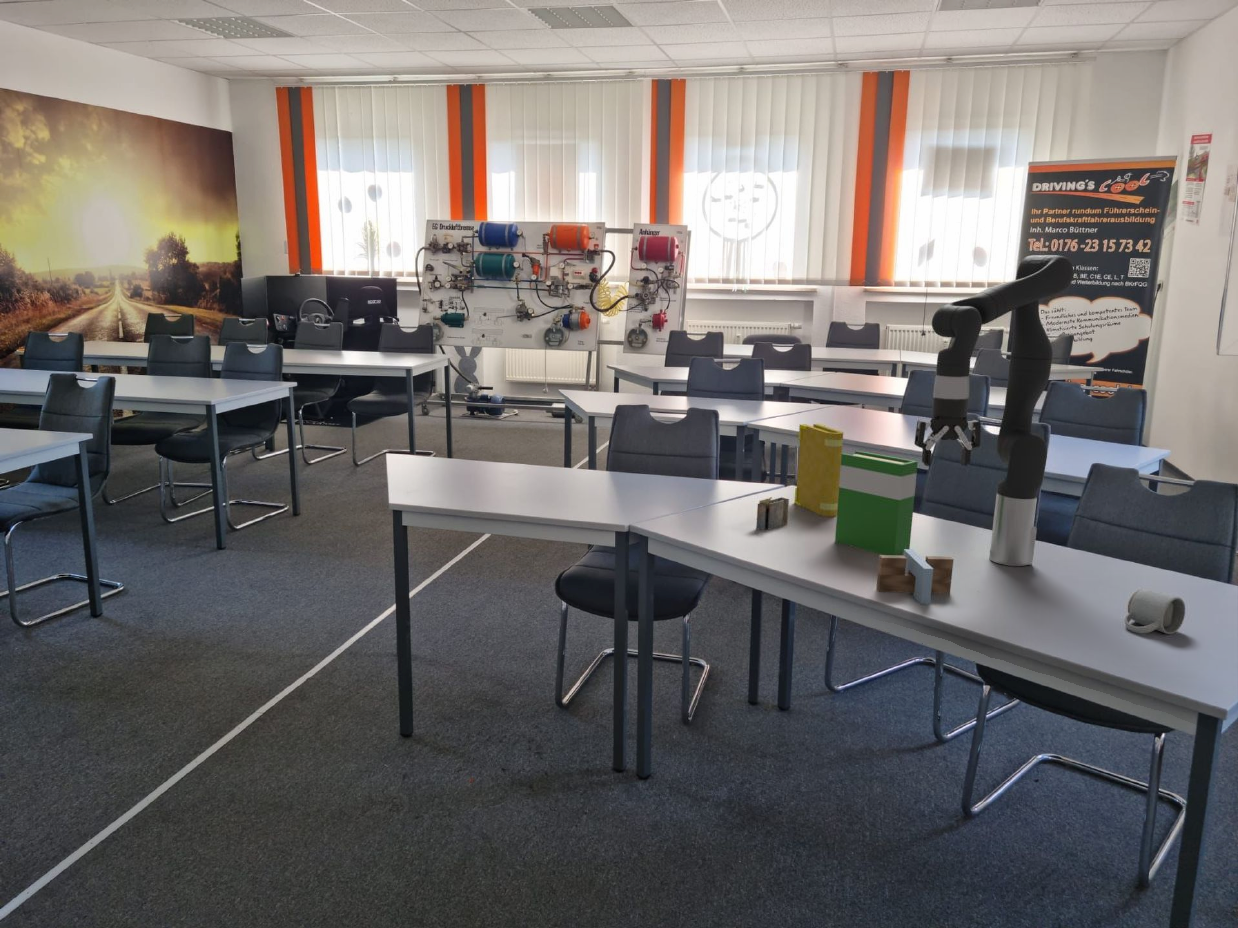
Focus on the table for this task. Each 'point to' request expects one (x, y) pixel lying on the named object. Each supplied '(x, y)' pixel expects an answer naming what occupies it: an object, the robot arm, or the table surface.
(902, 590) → the walnut plate
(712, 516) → the table surface
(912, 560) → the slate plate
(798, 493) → the book
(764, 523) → the weathered grey slotted block
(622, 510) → the table surface
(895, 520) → the hardback book
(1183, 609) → the ceramic mug
